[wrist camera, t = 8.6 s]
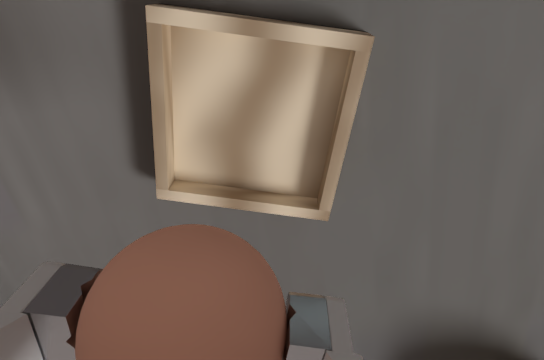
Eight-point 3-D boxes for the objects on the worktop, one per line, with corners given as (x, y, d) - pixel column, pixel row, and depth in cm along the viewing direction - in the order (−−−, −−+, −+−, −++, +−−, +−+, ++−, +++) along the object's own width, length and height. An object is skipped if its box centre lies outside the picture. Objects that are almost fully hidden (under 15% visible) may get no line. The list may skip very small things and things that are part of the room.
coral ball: (299, 200, 10) (307, 376, 5) (276, 316, 12) (269, 502, 8) (123, 178, 9) (-20, 338, 5) (136, 300, 12) (49, 478, 8)
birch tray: (366, 32, 19) (374, 36, 18) (325, 204, 25) (328, 220, 23) (159, 3, 19) (145, 5, 17) (166, 183, 25) (156, 198, 23)
